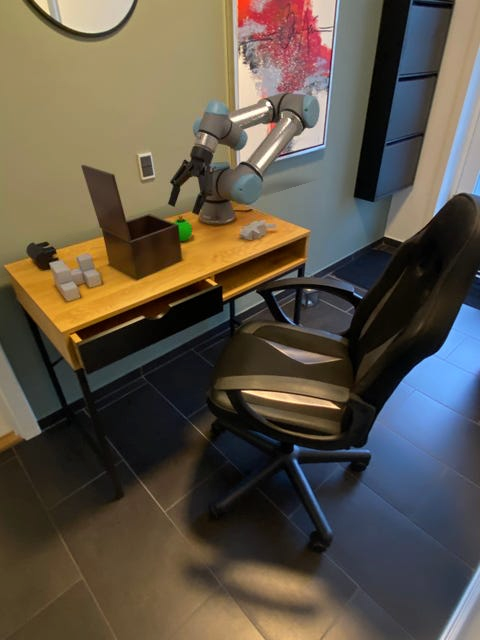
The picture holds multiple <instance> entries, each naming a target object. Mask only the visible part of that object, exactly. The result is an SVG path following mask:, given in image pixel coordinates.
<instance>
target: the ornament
mask: <svg viewBox="0 0 480 640" xmlns="http://www.w3.org/2000/svg"><path fill="white" fill-rule="evenodd" d="M173 223H175V224H177V225H179V235H180V242H185V241H187V240H189V239H190V238H191V236H192V235H193V234H192V233H193V227H192V224H191V223H190V221H188V220H187V219H185V218H183V215H182V214H178V219H176V220H175V221H174V222H173Z"/></svg>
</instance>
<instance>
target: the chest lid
mask: <svg viewBox="0 0 480 640" xmlns="http://www.w3.org/2000/svg"><path fill="white" fill-rule="evenodd" d="M80 168H81V171H82V174H83V176H84V179H85V183H86V187H87V190H88V193H89V196H90V200H91V203H92V206H93V209H94V212H95V216H96V219H97V222H98V225H99V228H100V229H101V230H102V229H103V230H106V231H108V232H110V233H112V234H114V235H116V236H118V237H121V238H123V239H125V240H127V241H131V238H130V234H129V230H128V226H127V222H126V221H127V219H126V215H125V210H124V207H123V203H122V199H121V196H120V192H119V188H118V184H117V179H116V175H115V174H114V173H111V172H108V171H105V170H101V169H99V168H94V167H92V166H89V165H86V164H82V165H81V167H80Z"/></svg>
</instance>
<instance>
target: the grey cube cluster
mask: <svg viewBox="0 0 480 640" xmlns="http://www.w3.org/2000/svg"><path fill="white" fill-rule="evenodd" d="M75 258H76V261H77V265H78V267H76V268H73V269H72V268H71V269H70V268H69V267H68V265H67V264H66V263H65V261H64V260H63V259H59V261H55V262H51V263H49V265H50V268H51V269H50V271H51V274H52V277H53V280H54V284H55V286H56V288H57V289H58V290H59V292H60V293H61V296H62V297H63V298H64V300H66V302H71V301H75V300H78V299H80V298H81V294H80V290H79V287H78V286H79V285H84V284H86V285H87V286H88V288H90V289H91V288H94V287H98V286H101V285H103V284H102V278H101V274H100V273H99V271H98V270H97V269H96V268H95V264H94V259H93V256H92V255H91V254H90V253H89V252H85V253H82V254H79V255H76V256H75Z"/></svg>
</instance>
